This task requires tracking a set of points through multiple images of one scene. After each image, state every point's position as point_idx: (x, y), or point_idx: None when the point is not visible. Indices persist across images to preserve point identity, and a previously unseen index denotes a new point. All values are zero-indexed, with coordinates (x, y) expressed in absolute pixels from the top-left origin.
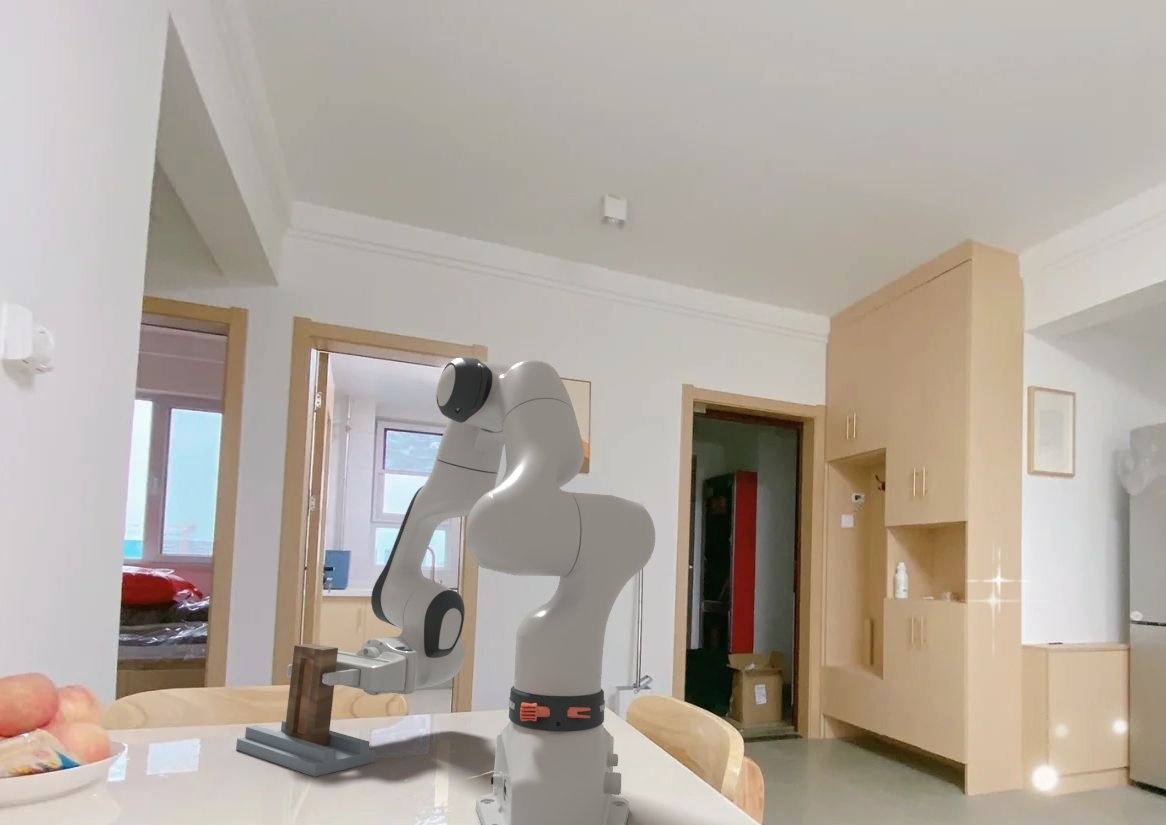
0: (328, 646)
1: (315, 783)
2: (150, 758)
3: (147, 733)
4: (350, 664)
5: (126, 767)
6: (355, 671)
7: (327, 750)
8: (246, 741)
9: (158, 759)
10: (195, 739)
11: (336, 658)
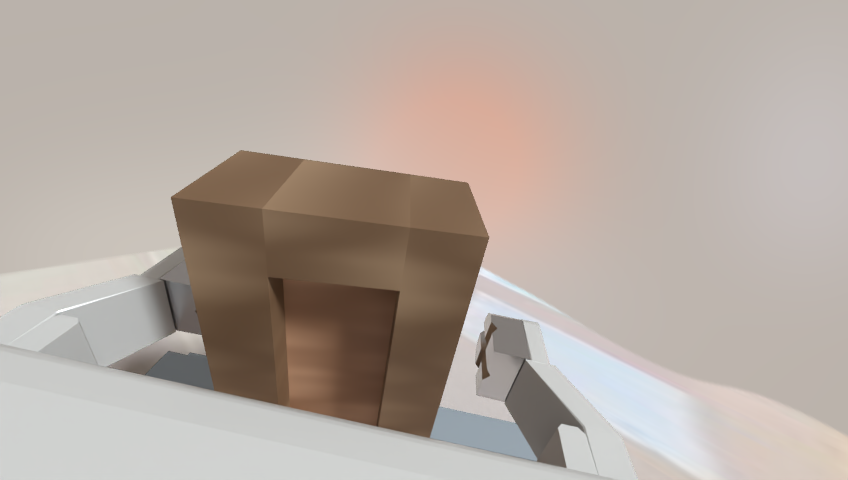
0: (282, 209)
1: (177, 352)
2: (566, 335)
3: (802, 446)
4: (66, 359)
5: (532, 299)
6: (2, 323)
7: (163, 360)
8: (498, 421)
9: (552, 337)
10: (703, 471)
11: (189, 264)
